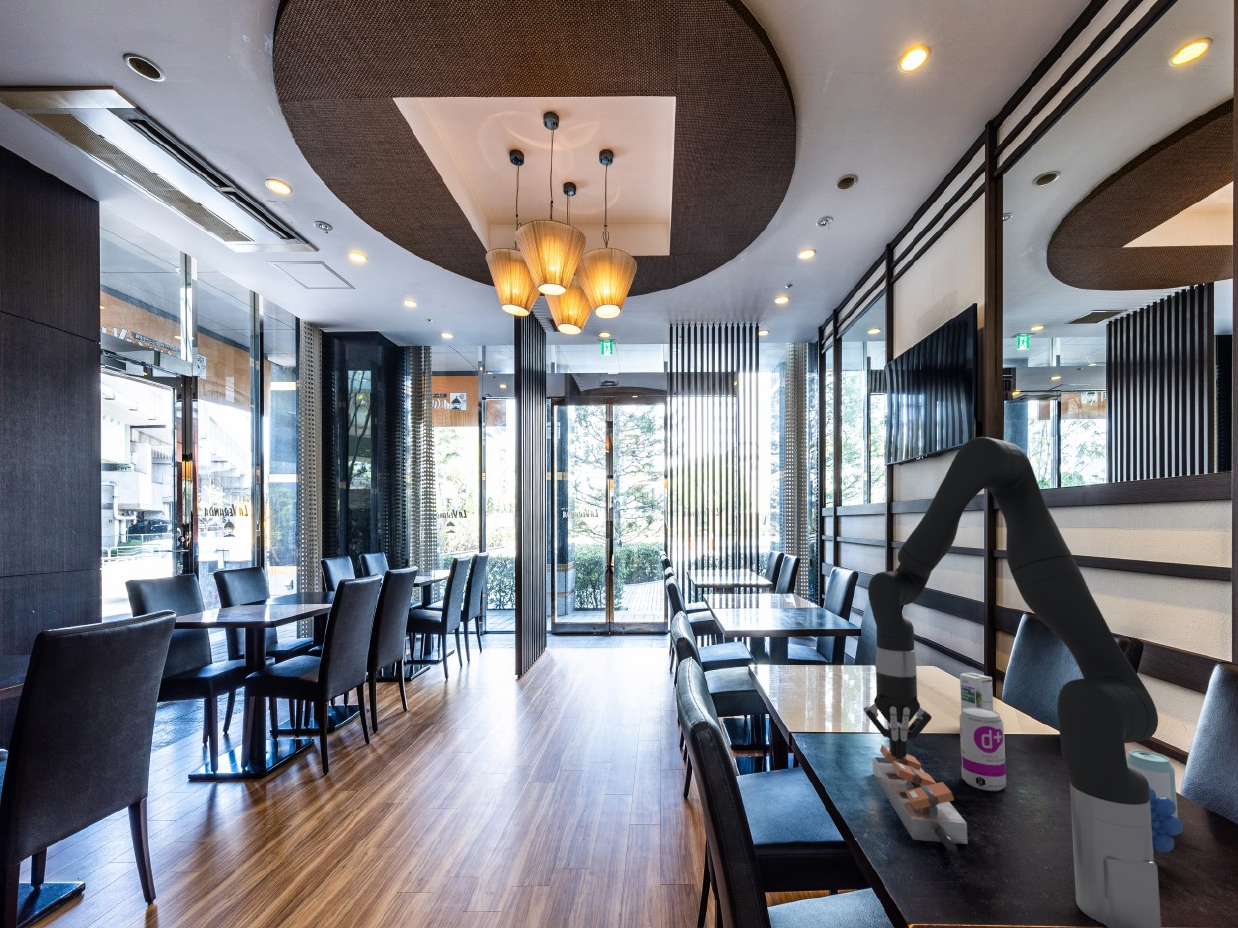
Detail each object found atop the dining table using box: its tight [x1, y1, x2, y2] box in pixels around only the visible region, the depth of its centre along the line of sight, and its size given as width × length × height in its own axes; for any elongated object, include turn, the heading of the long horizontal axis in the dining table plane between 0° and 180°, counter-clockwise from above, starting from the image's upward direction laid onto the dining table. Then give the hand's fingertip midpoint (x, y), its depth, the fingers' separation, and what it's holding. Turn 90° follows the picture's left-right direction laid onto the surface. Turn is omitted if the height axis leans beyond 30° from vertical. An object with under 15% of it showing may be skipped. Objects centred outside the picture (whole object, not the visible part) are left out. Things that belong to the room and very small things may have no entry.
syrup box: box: [959, 672, 994, 714], centre depth 166 cm, size 6×6×14 cm
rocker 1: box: [879, 744, 922, 771], centre depth 131 cm, size 4×7×2 cm, turn 81°
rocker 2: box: [892, 761, 937, 786], centre depth 122 cm, size 4×7×2 cm, turn 81°
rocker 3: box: [906, 781, 955, 809], centre depth 113 cm, size 4×7×2 cm, turn 81°
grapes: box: [1149, 787, 1184, 854], centre depth 105 cm, size 12×7×12 cm, turn 62°
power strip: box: [872, 756, 968, 856], centre depth 119 cm, size 34×9×4 cm, turn 171°
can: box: [1126, 749, 1179, 819], centre depth 117 cm, size 7×7×12 cm
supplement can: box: [959, 707, 1007, 792], centre depth 132 cm, size 8×8×15 cm
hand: (898, 758), depth 123 cm, fingers closed
